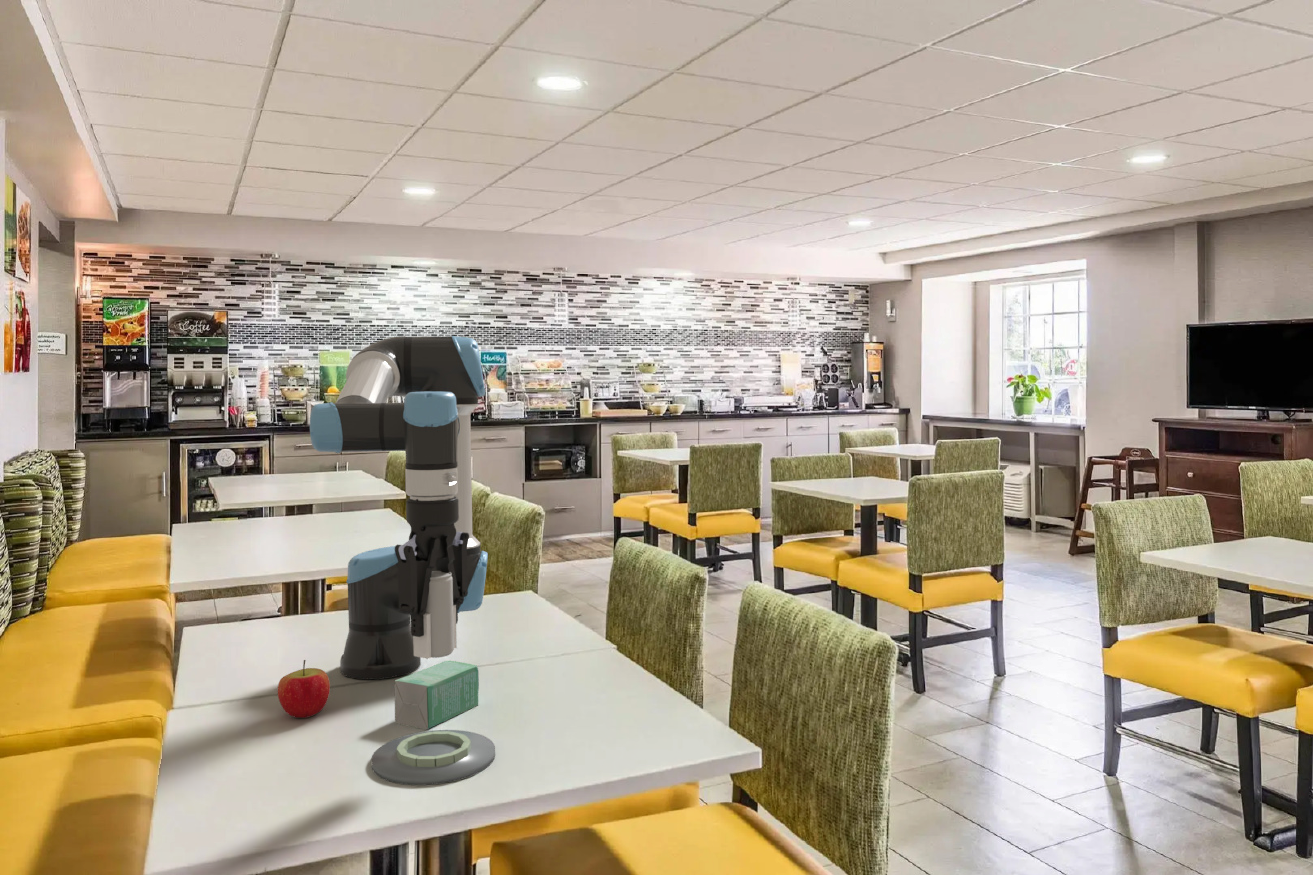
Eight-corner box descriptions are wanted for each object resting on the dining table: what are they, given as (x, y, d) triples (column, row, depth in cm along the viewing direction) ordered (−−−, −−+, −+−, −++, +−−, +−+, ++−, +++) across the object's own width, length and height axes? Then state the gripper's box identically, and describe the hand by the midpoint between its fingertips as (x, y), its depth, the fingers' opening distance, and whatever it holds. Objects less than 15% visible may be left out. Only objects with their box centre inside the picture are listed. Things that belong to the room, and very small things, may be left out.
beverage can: (423, 649, 144) (421, 570, 143) (456, 648, 144) (454, 570, 143) (418, 659, 139) (416, 578, 138) (452, 658, 140) (450, 577, 138)
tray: (345, 768, 139) (344, 753, 139) (431, 728, 155) (431, 715, 155) (437, 795, 130) (437, 779, 130) (519, 749, 146) (519, 735, 146)
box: (480, 705, 166) (479, 663, 166) (428, 731, 154) (427, 686, 154) (447, 698, 170) (446, 657, 169) (394, 724, 158) (392, 680, 157)
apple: (281, 727, 156) (279, 667, 155) (275, 711, 163) (274, 654, 162) (334, 719, 159) (332, 660, 159) (326, 703, 167) (324, 647, 166)
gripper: (407, 506, 130) (411, 672, 132) (491, 490, 146) (493, 640, 148) (368, 502, 134) (372, 664, 136) (453, 487, 150) (456, 633, 151)
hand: (435, 651), depth 142 cm, fingers closed on beverage can, 5 cm apart
